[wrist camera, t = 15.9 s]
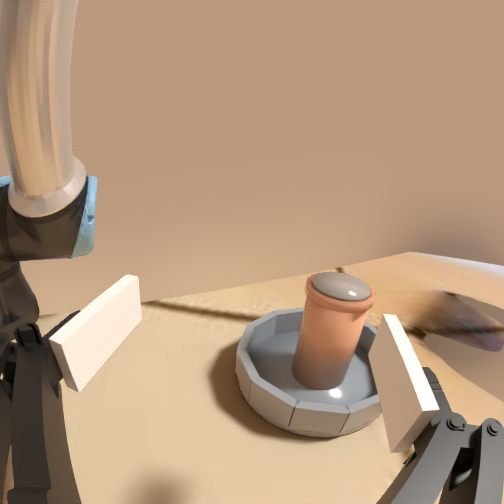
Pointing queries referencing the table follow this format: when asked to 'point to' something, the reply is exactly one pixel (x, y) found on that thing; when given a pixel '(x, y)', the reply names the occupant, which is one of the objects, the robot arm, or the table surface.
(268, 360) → the slate bowl
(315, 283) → the terracotta jar
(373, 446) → the table surface
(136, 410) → the table surface
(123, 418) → the table surface
